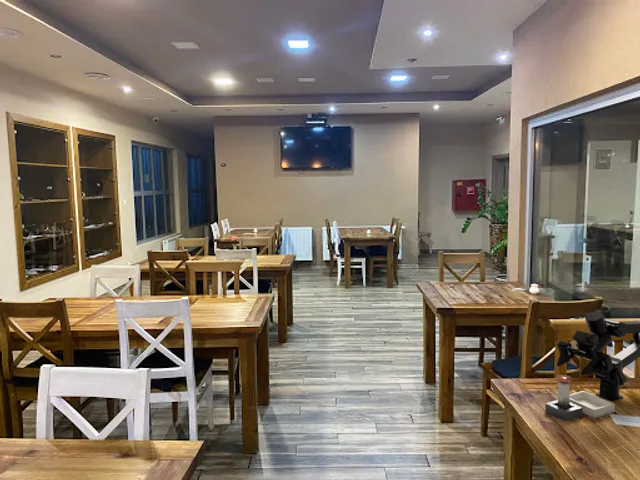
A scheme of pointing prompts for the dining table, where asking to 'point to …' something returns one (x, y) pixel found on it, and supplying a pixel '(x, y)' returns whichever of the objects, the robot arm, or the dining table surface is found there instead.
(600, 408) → the tray
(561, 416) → the dark grey square socket
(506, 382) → the dining table surface
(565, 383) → the pin
